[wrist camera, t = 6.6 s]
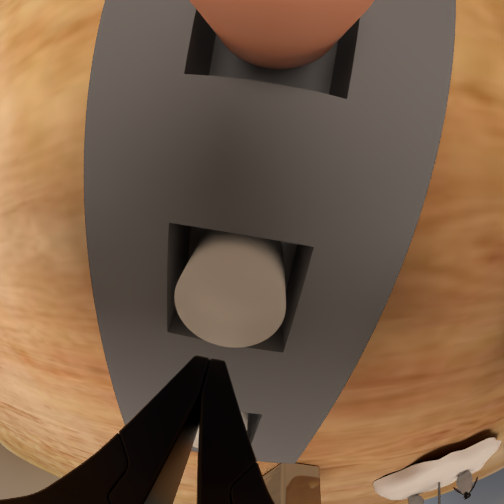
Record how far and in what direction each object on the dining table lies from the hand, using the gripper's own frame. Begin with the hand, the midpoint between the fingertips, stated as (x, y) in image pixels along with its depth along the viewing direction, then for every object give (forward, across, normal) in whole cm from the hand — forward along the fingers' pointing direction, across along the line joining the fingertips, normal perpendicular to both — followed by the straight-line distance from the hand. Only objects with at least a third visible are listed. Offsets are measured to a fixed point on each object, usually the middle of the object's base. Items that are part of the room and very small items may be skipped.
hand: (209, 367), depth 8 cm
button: (+7, 0, 0) cm, 7 cm away
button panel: (+8, 0, 0) cm, 8 cm away
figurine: (+8, -31, +28) cm, 43 cm away
